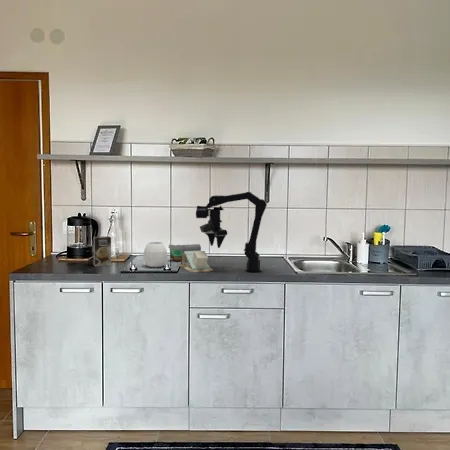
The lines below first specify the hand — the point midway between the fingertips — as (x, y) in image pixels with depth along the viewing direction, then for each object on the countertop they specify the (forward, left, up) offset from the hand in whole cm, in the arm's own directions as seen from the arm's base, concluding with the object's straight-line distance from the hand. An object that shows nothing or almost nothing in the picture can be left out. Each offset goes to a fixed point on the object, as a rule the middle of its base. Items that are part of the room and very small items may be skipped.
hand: (215, 246), depth 260 cm
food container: (+10, -30, -13) cm, 34 cm away
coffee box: (+55, -32, -13) cm, 65 cm away
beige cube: (+9, -1, -9) cm, 13 cm away
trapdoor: (+9, -8, -9) cm, 15 cm away
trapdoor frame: (+9, -6, -13) cm, 17 cm away
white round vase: (+28, -19, -13) cm, 36 cm away
